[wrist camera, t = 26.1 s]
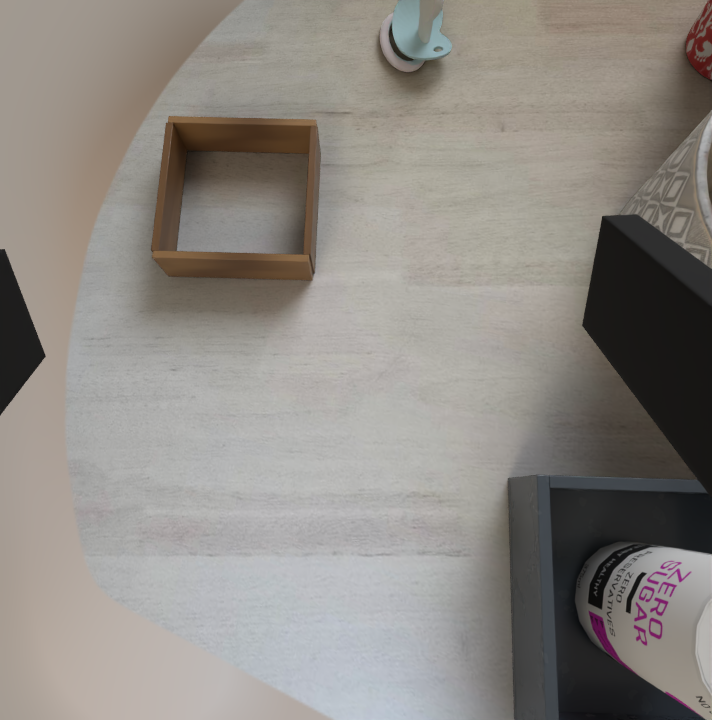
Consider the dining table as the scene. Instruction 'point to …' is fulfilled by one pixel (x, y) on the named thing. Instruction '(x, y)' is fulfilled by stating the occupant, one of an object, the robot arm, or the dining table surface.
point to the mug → (701, 42)
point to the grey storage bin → (559, 579)
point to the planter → (682, 195)
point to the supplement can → (653, 616)
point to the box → (232, 138)
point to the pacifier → (414, 33)
